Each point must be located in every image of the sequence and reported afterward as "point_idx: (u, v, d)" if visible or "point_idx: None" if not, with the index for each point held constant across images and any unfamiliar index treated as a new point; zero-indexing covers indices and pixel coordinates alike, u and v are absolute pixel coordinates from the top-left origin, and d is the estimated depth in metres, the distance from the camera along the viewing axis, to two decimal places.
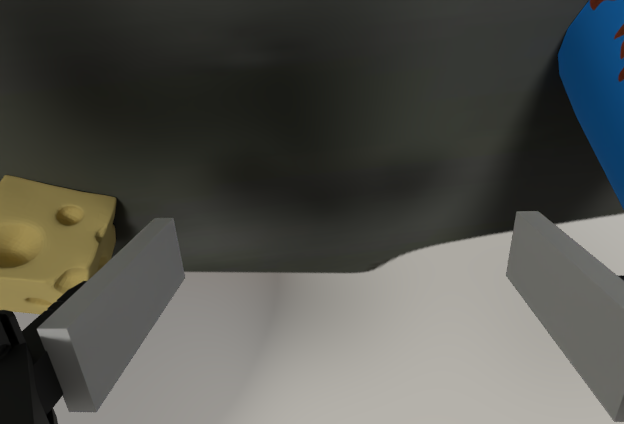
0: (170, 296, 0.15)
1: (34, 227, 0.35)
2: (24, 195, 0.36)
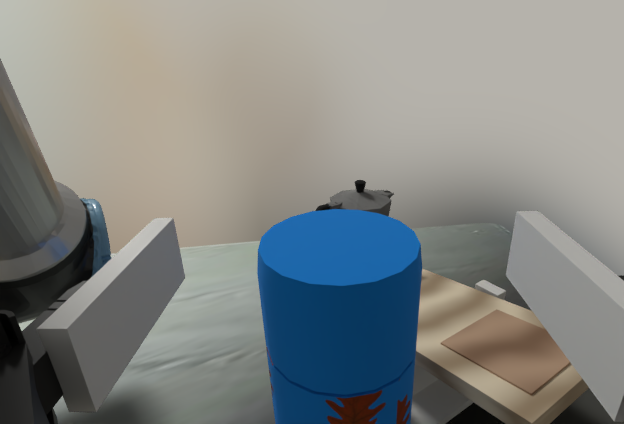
0: (170, 296, 0.15)
1: None
2: None
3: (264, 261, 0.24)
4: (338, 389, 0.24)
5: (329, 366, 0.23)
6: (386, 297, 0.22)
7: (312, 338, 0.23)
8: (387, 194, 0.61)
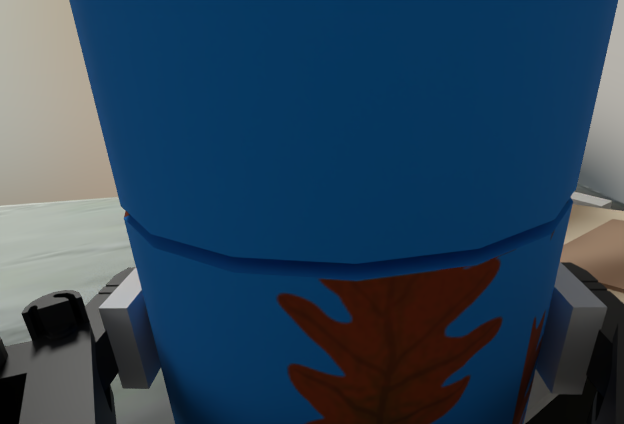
0: None
1: None
2: None
3: None
4: (328, 238, 0.06)
5: (285, 111, 0.05)
6: None
7: None
8: None
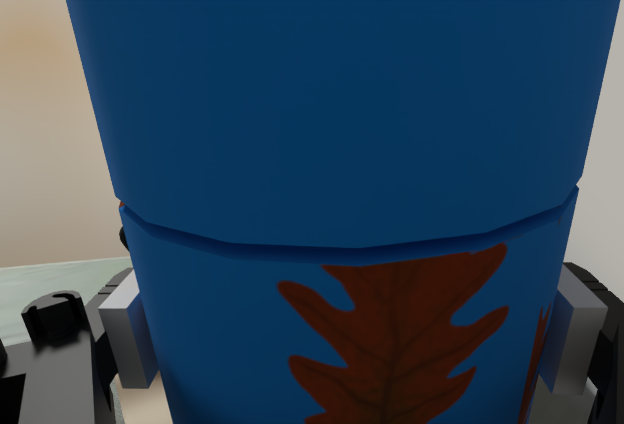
0: None
1: None
2: None
3: None
4: (330, 222, 0.05)
5: (284, 87, 0.05)
6: None
7: None
8: None
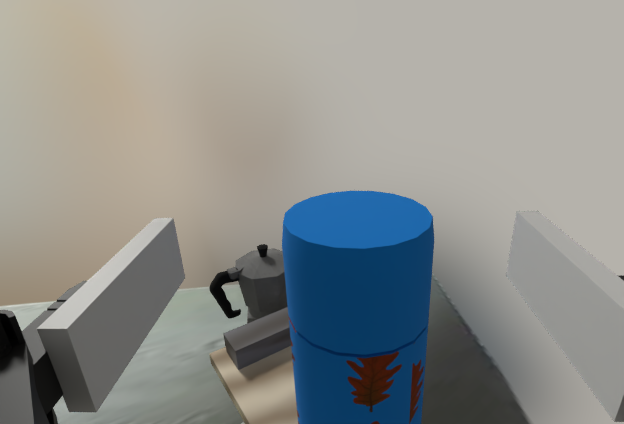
0: (170, 296, 0.15)
1: None
2: None
3: (290, 231, 0.26)
4: (358, 349, 0.26)
5: (350, 327, 0.25)
6: (403, 260, 0.24)
7: (335, 300, 0.25)
8: None
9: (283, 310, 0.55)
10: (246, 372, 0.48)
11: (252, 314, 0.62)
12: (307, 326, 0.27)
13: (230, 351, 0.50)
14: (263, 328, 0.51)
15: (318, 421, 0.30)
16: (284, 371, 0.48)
